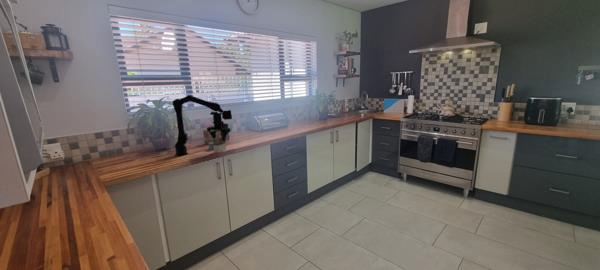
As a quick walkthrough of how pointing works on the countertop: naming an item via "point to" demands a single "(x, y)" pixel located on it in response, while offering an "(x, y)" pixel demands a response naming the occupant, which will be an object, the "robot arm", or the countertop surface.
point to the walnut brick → (218, 141)
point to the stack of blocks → (209, 138)
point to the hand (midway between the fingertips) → (219, 140)
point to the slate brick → (211, 146)
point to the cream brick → (219, 148)
